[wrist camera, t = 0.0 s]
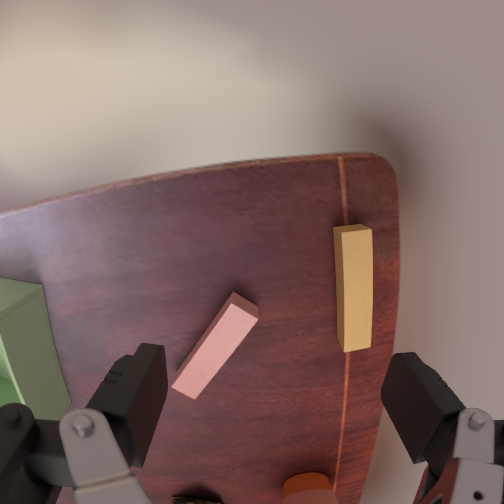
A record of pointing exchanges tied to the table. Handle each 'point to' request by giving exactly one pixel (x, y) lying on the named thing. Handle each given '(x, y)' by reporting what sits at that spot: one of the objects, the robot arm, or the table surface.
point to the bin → (29, 352)
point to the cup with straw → (308, 490)
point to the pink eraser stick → (216, 345)
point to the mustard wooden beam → (354, 285)
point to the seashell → (189, 501)
